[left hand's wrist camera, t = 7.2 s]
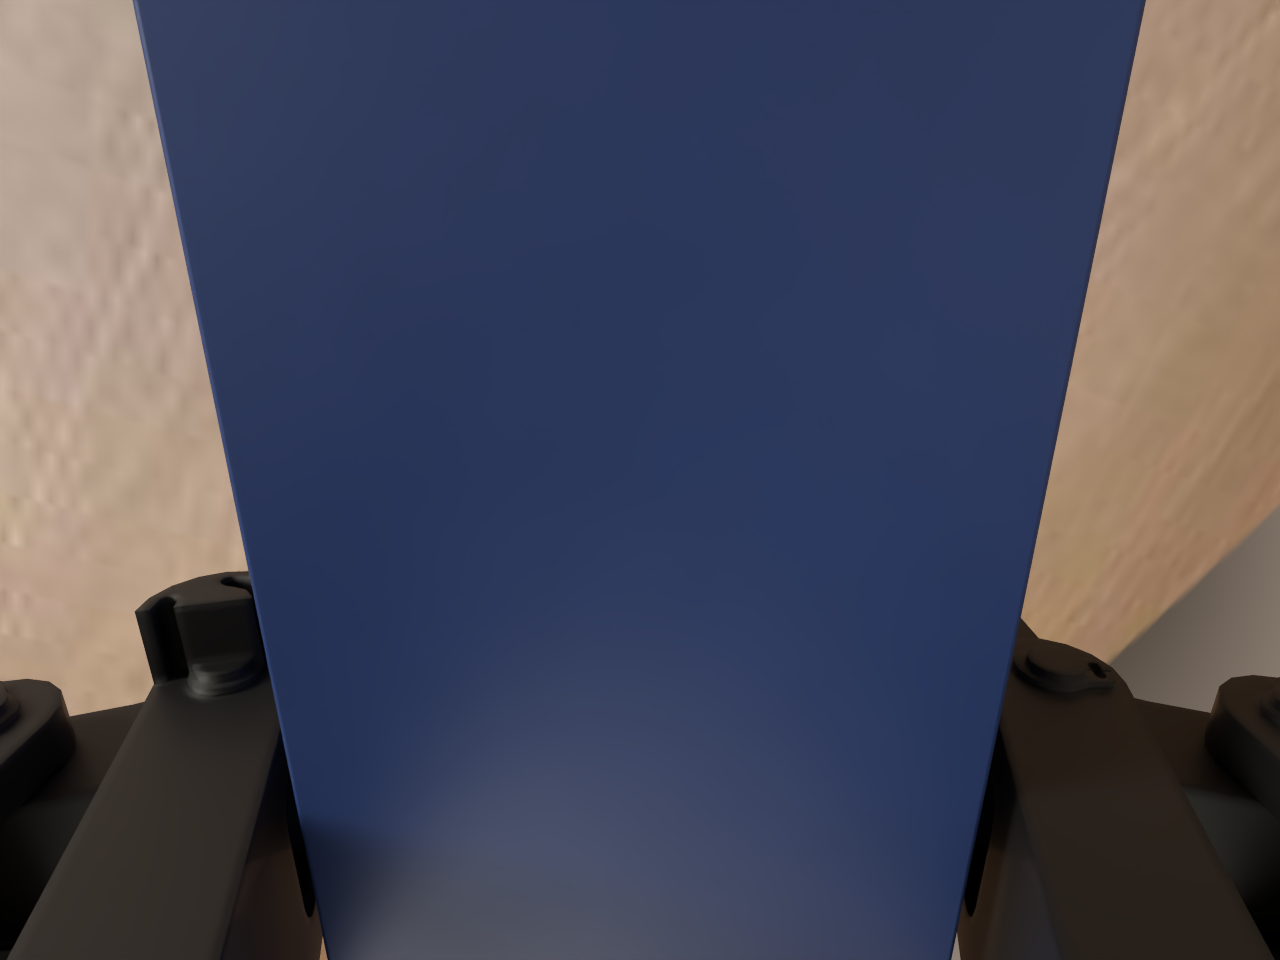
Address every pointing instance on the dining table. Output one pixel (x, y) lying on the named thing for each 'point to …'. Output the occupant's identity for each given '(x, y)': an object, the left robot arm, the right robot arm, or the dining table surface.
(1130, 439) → the dining table surface
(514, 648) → the bar
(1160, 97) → the dining table surface
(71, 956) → the left robot arm
